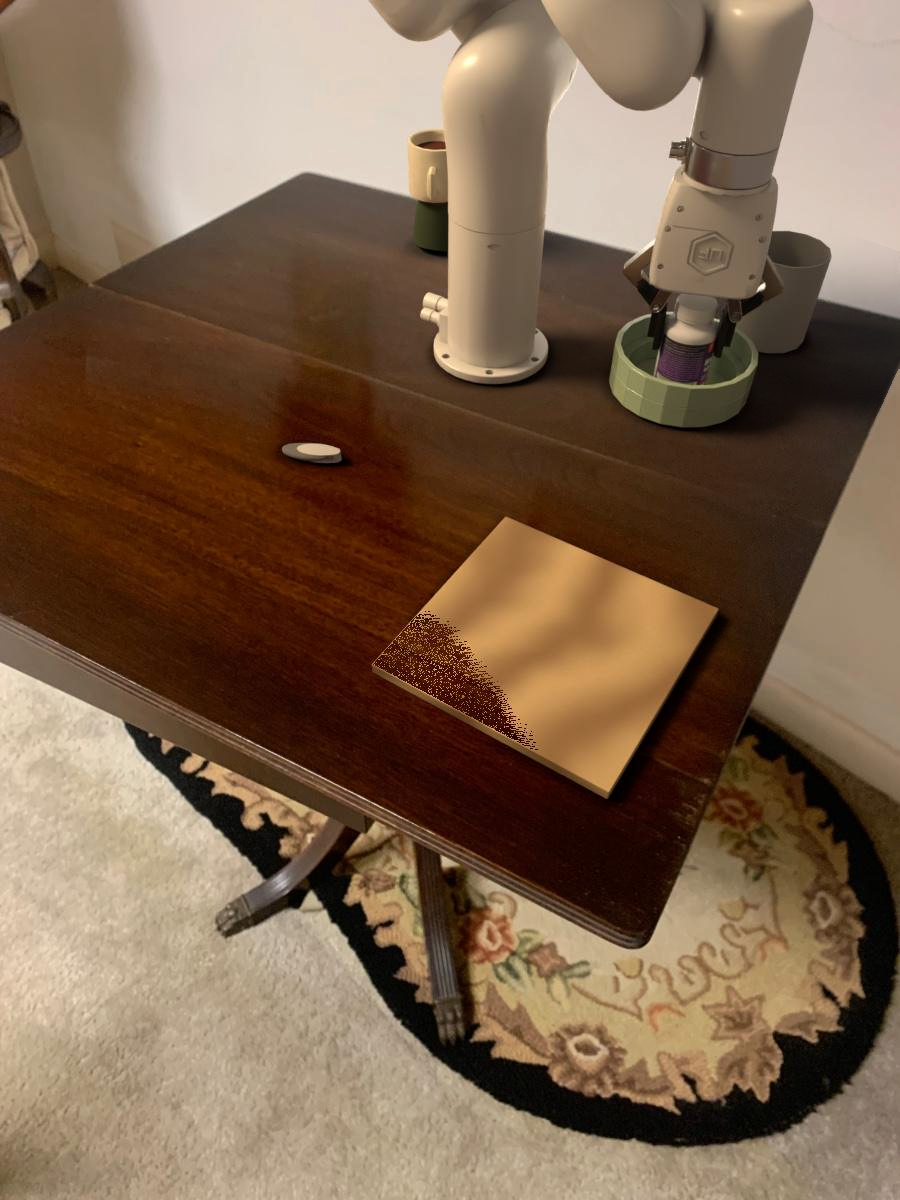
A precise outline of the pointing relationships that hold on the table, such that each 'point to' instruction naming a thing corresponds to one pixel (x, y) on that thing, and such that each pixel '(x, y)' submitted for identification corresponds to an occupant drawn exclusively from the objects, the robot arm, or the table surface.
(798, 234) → the cup
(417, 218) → the character mug
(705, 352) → the pill bottle
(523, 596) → the mat
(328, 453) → the oval pebble
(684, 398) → the bowl
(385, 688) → the table surface
